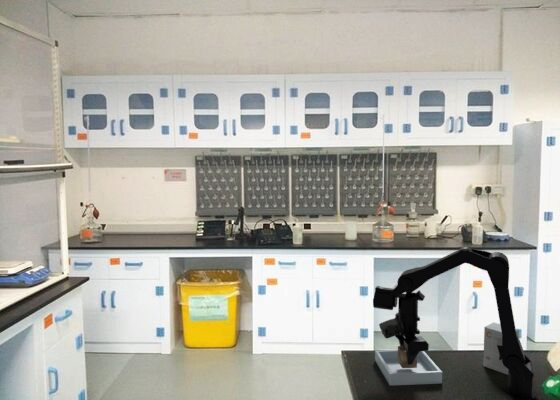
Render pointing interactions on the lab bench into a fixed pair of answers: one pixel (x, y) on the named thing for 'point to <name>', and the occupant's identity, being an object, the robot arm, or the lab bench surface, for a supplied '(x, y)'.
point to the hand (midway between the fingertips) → (407, 360)
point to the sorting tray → (407, 369)
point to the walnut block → (405, 358)
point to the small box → (493, 348)
